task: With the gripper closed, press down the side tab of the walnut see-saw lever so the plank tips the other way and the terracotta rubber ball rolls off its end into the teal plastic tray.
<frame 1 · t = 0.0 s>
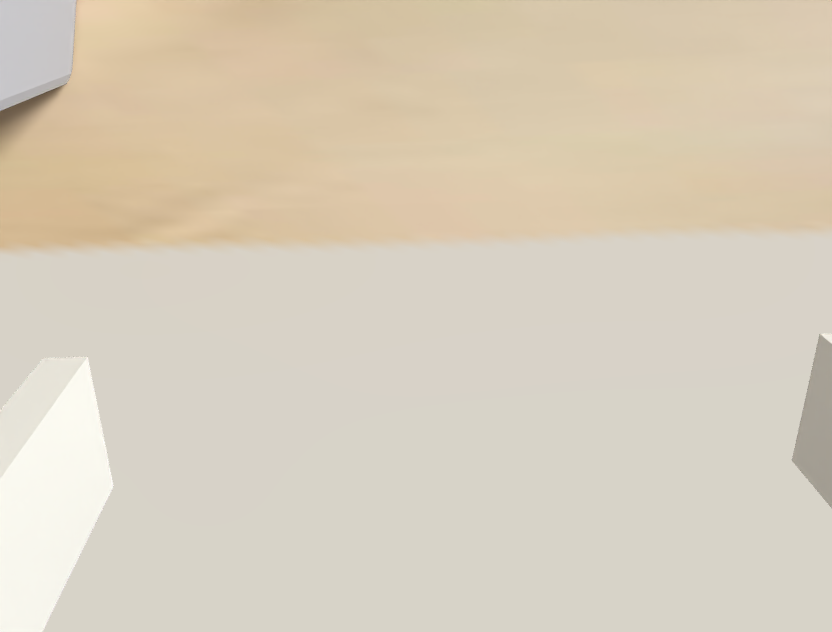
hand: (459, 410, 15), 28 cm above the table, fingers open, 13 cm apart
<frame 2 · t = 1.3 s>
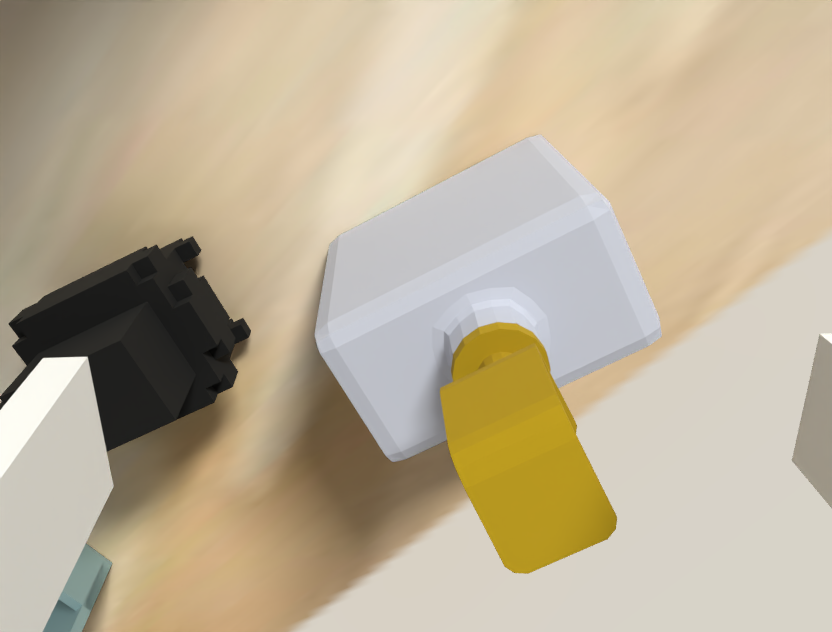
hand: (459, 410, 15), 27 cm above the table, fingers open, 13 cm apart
toy: (111, 332, 43), on the table
soap bottle: (458, 237, 42), on the table
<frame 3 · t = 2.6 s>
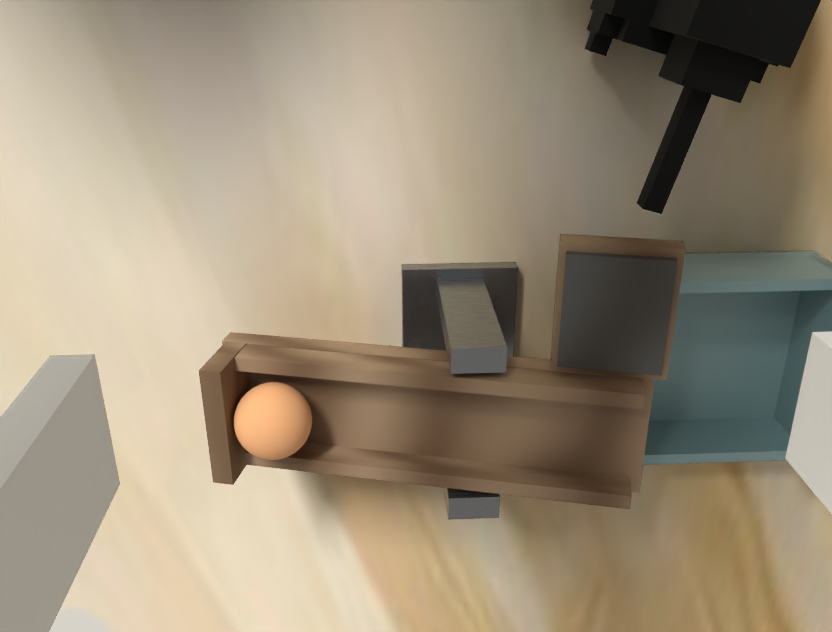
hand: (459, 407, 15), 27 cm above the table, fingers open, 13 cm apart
toy: (652, 19, 38), on the table
tray: (702, 342, 45), on the table
stand: (456, 348, 44), on the table
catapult: (429, 369, 35), point 8 cm above the table, hinge at -14.0°, touching ball
ball: (273, 420, 37), point 7 cm above the table, tilted 24°, touching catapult
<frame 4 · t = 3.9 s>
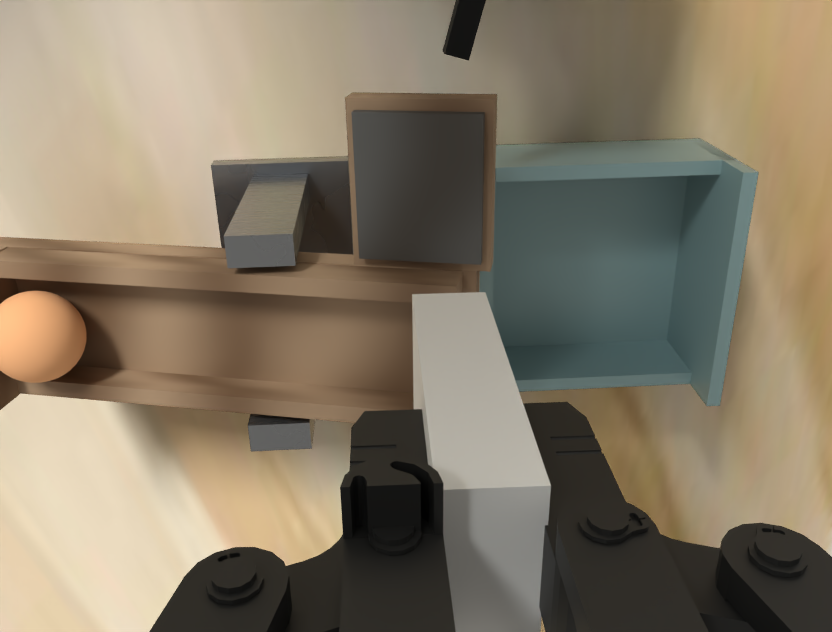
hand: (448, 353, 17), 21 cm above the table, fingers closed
tray: (577, 251, 39), on the table
stand: (291, 262, 38), on the table
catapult: (209, 267, 29), point 8 cm above the table, hinge at -14.0°, touching ball
ball: (36, 336, 31), point 7 cm above the table, tilted 24°, touching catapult
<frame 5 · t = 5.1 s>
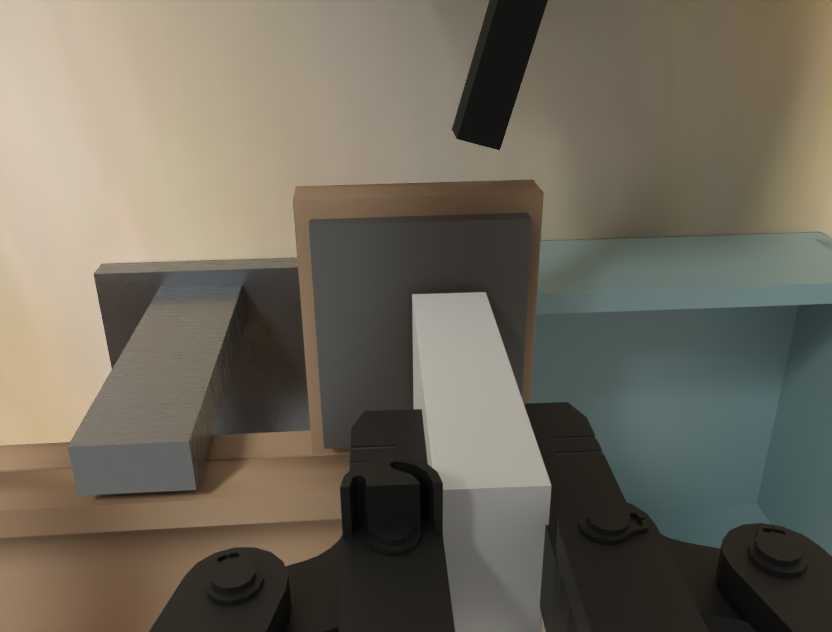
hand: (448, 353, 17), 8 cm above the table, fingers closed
tray: (636, 386, 27), on the table
stand: (222, 403, 26), on the table
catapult: (62, 494, 17), point 9 cm above the table, hinge at 0.7°, touching ball, gripper
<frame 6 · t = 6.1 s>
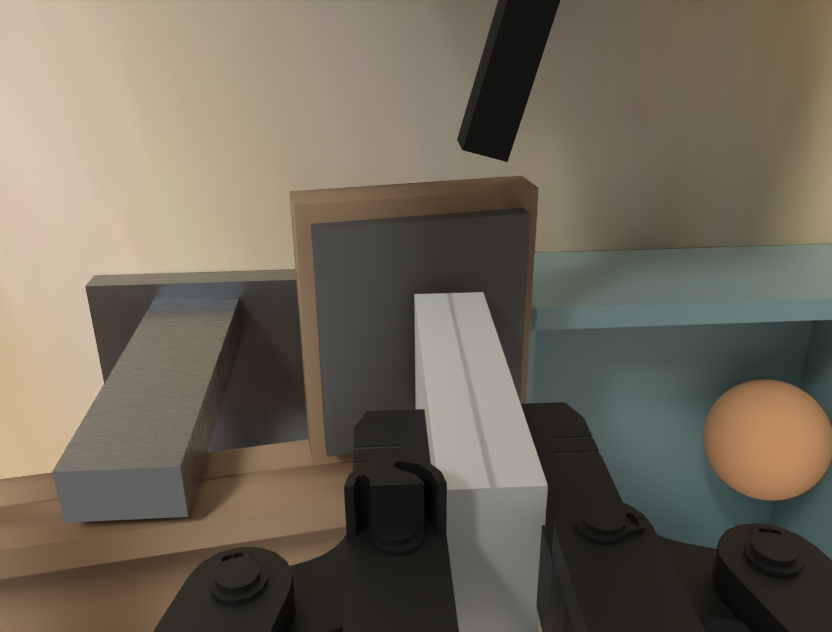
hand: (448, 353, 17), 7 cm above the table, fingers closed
tray: (646, 402, 26), on the table
stand: (218, 419, 25), on the table
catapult: (56, 527, 16), point 9 cm above the table, hinge at 9.1°, touching gripper
ball: (766, 439, 24), point 2 cm above the table, tilted 112°, touching tray
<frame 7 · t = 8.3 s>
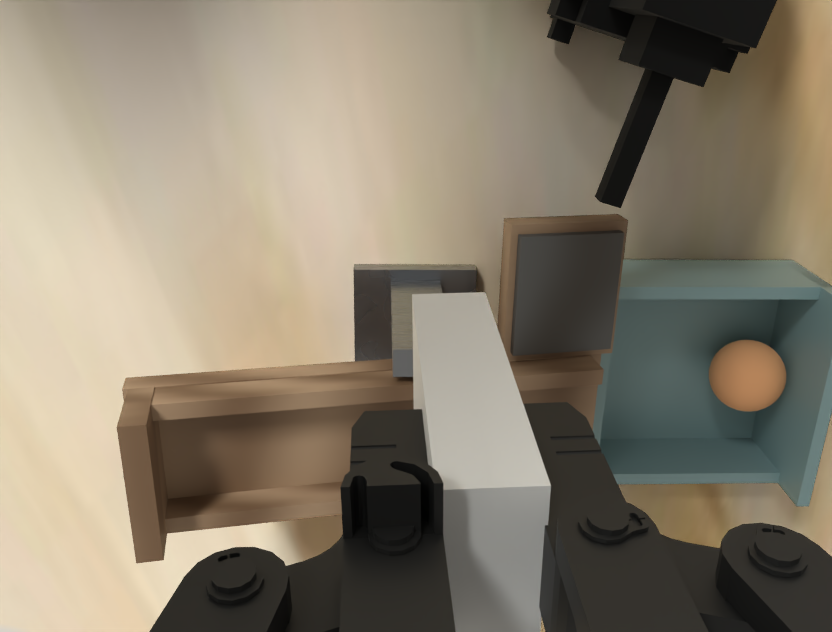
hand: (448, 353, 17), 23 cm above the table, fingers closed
toy: (619, 8, 36), on the table
tray: (674, 355, 42), on the table
stand: (413, 355, 41), on the table
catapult: (385, 380, 32), point 9 cm above the table, hinge at 9.2°
ball: (746, 375, 40), point 2 cm above the table, tilted 111°, touching tray
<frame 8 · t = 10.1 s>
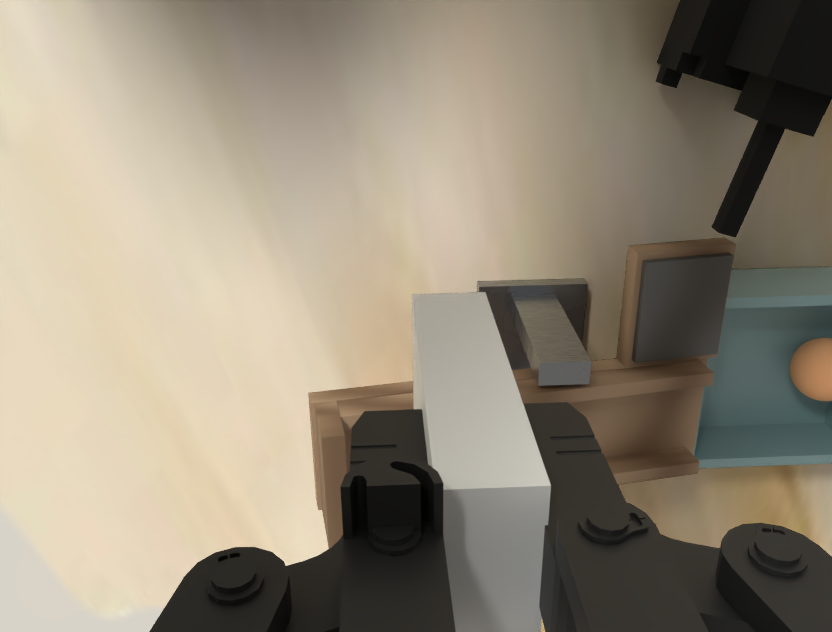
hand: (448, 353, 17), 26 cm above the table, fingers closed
toy: (717, 52, 40), on the table
tray: (757, 351, 47), on the table
stand: (526, 359, 47), on the table
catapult: (530, 389, 37), point 9 cm above the table, hinge at 9.2°
ball: (824, 369, 45), point 2 cm above the table, tilted 109°, touching tray
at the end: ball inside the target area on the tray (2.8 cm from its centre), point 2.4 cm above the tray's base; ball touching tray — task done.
